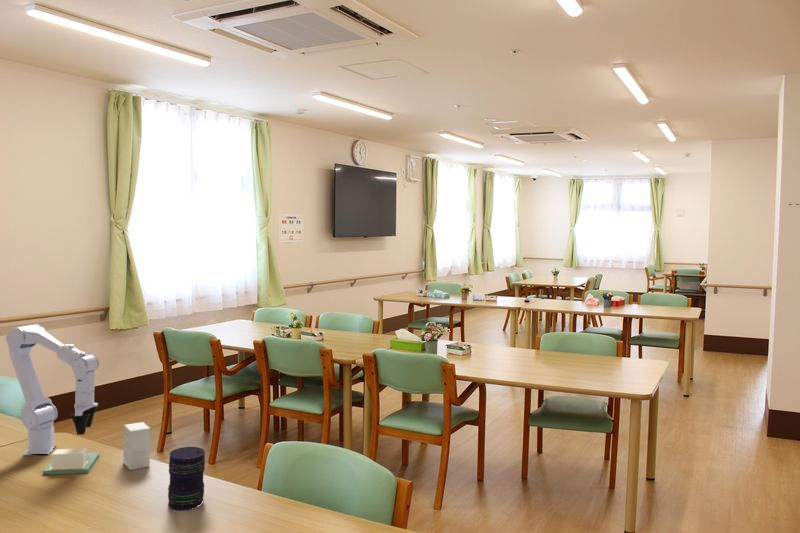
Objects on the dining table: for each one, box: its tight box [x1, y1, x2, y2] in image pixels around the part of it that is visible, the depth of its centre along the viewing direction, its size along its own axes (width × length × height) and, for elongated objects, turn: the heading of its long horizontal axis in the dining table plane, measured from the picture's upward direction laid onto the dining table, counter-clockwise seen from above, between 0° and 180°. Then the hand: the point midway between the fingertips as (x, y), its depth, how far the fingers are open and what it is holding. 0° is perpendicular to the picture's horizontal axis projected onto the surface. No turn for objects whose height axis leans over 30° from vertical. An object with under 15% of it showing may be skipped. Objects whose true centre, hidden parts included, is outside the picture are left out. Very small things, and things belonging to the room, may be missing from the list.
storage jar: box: [167, 446, 206, 512], centre depth 176 cm, size 10×10×15 cm
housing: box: [51, 448, 88, 468], centre depth 197 cm, size 5×9×4 cm, turn 103°
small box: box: [122, 421, 151, 471], centre depth 203 cm, size 8×6×13 cm
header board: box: [42, 452, 100, 475], centre depth 200 cm, size 15×13×4 cm
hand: (84, 430), depth 207 cm, fingers open, 7 cm apart
